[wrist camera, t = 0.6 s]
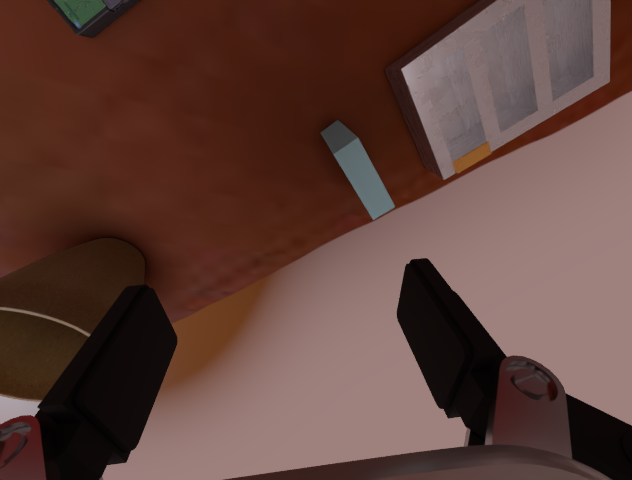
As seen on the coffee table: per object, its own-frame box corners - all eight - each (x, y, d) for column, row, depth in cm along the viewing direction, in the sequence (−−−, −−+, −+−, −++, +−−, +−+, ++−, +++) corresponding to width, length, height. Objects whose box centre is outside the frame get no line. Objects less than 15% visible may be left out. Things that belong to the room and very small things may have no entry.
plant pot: (26, 236, 35) (-137, 340, 21) (126, 197, 33) (20, 283, 20) (110, 309, 42) (30, 418, 29) (193, 280, 41) (150, 381, 28)
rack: (555, -56, 25) (615, -84, 20) (566, 81, 31) (612, 83, 27) (384, 69, 29) (402, 69, 24) (425, 168, 35) (445, 182, 31)
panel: (337, 119, 31) (358, 137, 23) (368, 174, 35) (395, 206, 26) (320, 132, 31) (333, 154, 23) (352, 184, 35) (373, 219, 27)
